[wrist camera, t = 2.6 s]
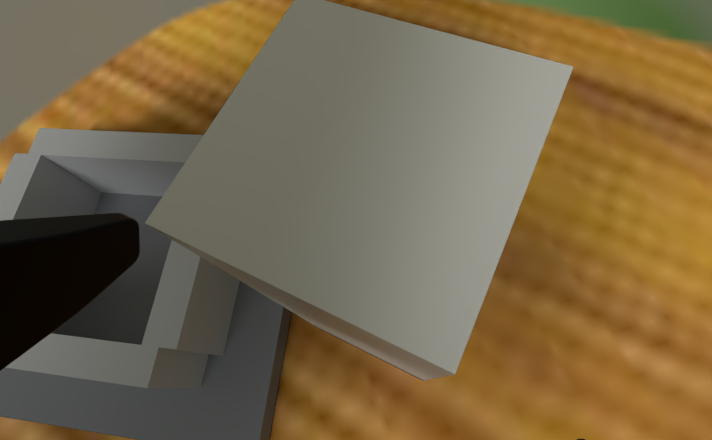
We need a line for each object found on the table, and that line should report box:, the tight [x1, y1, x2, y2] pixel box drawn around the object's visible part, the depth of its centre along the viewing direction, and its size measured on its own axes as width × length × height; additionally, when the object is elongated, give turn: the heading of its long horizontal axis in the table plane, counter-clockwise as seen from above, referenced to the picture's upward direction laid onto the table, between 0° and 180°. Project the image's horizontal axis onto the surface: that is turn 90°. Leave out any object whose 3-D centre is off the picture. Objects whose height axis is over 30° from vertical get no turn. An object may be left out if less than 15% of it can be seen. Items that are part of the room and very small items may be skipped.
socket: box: [0, 128, 291, 440], centre depth 17 cm, size 13×13×5 cm
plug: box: [145, 0, 573, 381], centre depth 12 cm, size 4×4×12 cm
